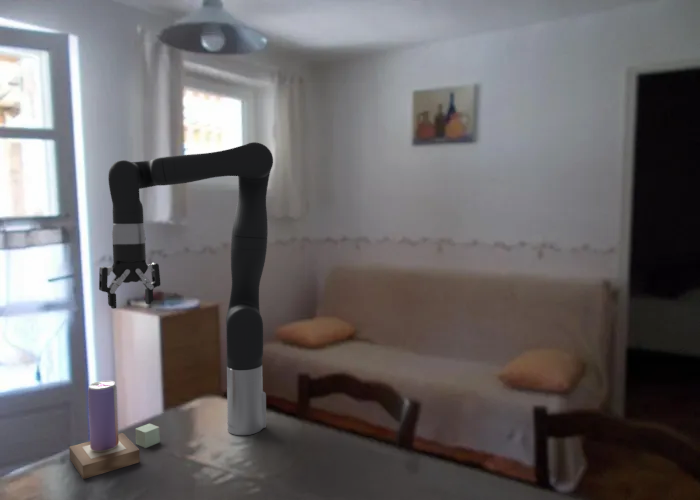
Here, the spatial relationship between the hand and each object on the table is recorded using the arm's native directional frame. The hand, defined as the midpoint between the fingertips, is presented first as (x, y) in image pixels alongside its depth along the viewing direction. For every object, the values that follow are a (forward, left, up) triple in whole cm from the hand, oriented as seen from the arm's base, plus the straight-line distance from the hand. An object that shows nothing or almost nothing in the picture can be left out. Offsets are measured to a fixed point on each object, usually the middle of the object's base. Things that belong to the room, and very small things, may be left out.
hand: (131, 305), depth 134 cm
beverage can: (+10, +9, -31) cm, 34 cm away
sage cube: (-1, +6, -34) cm, 35 cm away
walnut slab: (+10, +9, -34) cm, 36 cm away
